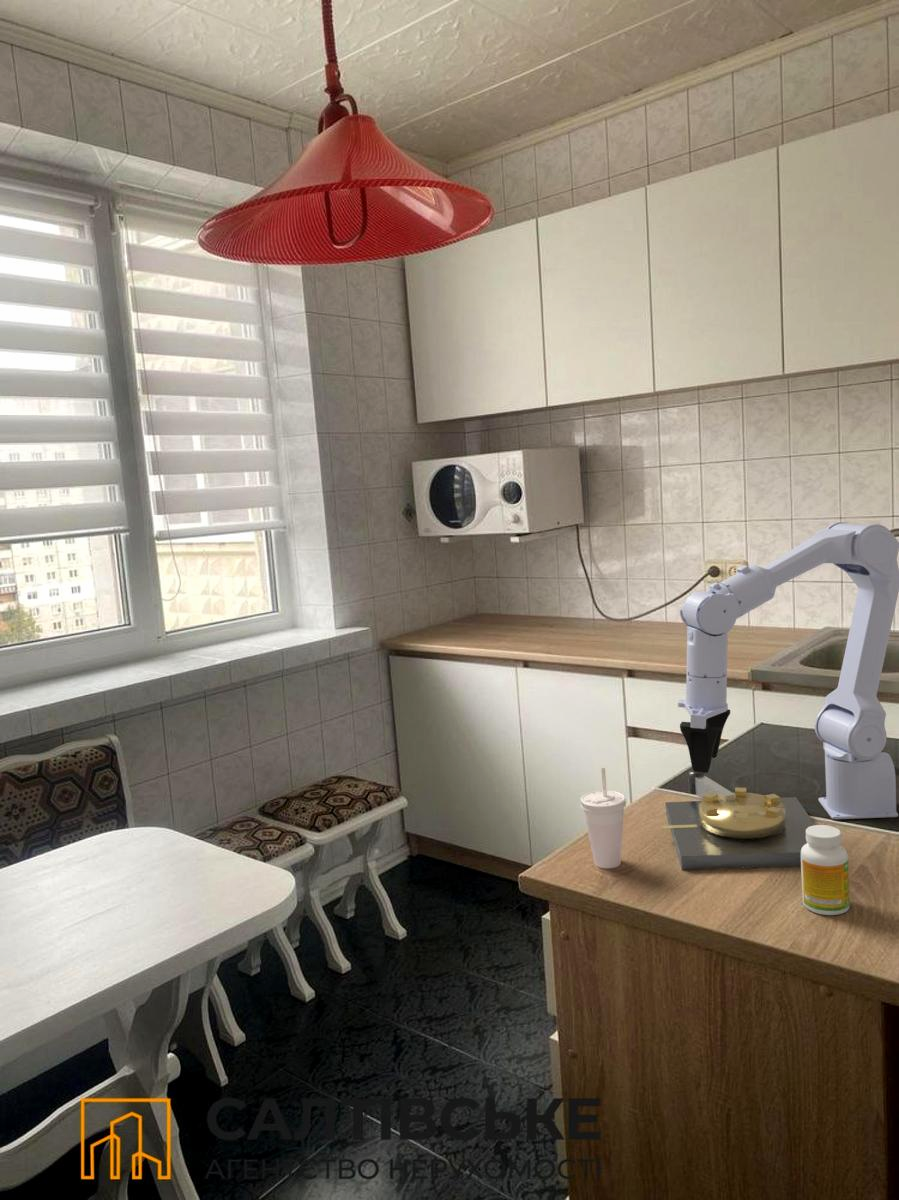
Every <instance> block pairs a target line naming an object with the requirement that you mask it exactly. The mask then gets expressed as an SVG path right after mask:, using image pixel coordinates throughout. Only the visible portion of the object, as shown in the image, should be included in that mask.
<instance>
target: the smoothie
mask: <svg viewBox="0 0 899 1200" xmlns="http://www.w3.org/2000/svg"><path fill="white" fill-rule="evenodd" d="M600 771H601V785H602V790H595V791H590V792H587V793H585V794H583V795H582V796H581V797H580V808H581V809H583V812H584V813H583V815H584V819H585V823H586V827H587V832H588V838H589V843H590V848H591V852H592V857H593V862H594V863H593V864H594V865H595V867H597V868H601V869H606V870H607V869H615V868H618V867H619V866H620V865H621V863H622V850H623V849H622V848H623V847H622V844H623V833H624V832H623V831H624V829H623V827H624V817H625V816H624V813H625V811H624V810H625V808H626V805H627V801H626V800H627V799H626V796H625V795H624V794H622V793H621V792H618V791H614V790H607V778H606V777H607V776H606V767H605V766H601V767H600Z"/></svg>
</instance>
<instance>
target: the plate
mask: <svg viewBox="0 0 899 1200" xmlns="http://www.w3.org/2000/svg"><path fill="white" fill-rule="evenodd" d="M702 801H703V800H695V801H694V800H692V801H691V800H690V801H670V802H669V801H665V816H666V818H667V822H668V824H667V825H661V827H662V830H670V833H671V836H672V841H673V844H674V847H675V850H676V853H677V858H678V861H679V865H680V867H681V870H682V871H690V870H691V871H694V870H697V869H698V870H724V869H723V868H731V869H747V868H746V867H749V868H748V869H759V868H760V867H761V868H762V867H765V868H791V866H792V867H793V866H794V867H793V868H795V867H796V866H798V867H801V849H802V847H803V846H804V845H805V844H807V841H806V829H807V828H808V827H810V826H814V825H816V824H815V823H814V821H813V820H812V818H811V817H810V815H809V814H808V813H807V811H806V810H805V808H804V806H803V805H802V803H801V802H800V801H799V800H798V798H797V797H796V796H793V797H792V796H791V797H787V796H786V797H780V801H781V803H782V804H783V805H784V807H785V821H786V825H785V827H784V828H783V829H782V830H781V831H780V832H778V833H776V834H773V835H770V836H766V837H760V838H733V837H726V836H722V835H718V834H715V833H712V832H710V831H708V830H706V829H705V828H704V827H702V825H701V824H700V817H699V804H700V803H701V802H702ZM742 867H744V868H742ZM751 867H752V868H751ZM755 867H756V868H755ZM758 867H759V868H758ZM720 868H722V869H720ZM762 869H763V868H762Z"/></svg>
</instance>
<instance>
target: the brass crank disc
mask: <svg viewBox="0 0 899 1200" xmlns="http://www.w3.org/2000/svg"><path fill="white" fill-rule="evenodd" d="M687 778H688V779H687V780H688V793H689V794H691V795H695V796H697V797H699V798H700V799H702V800H701V801H702V802H701V803H700V804H699V817H700V824H701V825H702V827H704V828H705V829H706V830H708V831H710V832H712V833H715V834H718V835H722V836H726V837H733V838H760V837H766V836H770V835H773V834H776V833H778V832H780V831H781V830H782V829H783V828H784V827H785V825H786V821H785V807H784V805H783V804H782V803H781V801H780V798H781V796H779V795H778V794H775V793H771V794H765V795H764V794H759V793H753V792H747V787H735V788H734V791H735V792H732V791H731V790H729V789H727V788H725V787H724V786H722V785H721V784H719V783H718V782H716V781H714V780H713V779H711V778H709V777H708V776H706V773H703V772H694V771H693V768H692V769H689V770H688V771H687Z"/></svg>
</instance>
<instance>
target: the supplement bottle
mask: <svg viewBox="0 0 899 1200" xmlns="http://www.w3.org/2000/svg"><path fill="white" fill-rule="evenodd" d="M806 841H807V844H805V845H804V846H803V847H802V849H801V866H800V871H801V872H800V873H801V875H800V876H801V878H800V879H801V895H802V897H801V899H802V904H803V905H804V907H805V908H806V909H807V910H808V911H810V912H812V913H814V914H815V913H816V914H818V915H823V916H836V915H842V914H845V913H846V912H848V911H849V909H850V906H851V905H850V902H851V900H850V899H851V898H850V879H849V878H850V877H849V875H850V874H849V873H850V871H849V855H848V853H849V852H847V849H845V847H844V846H842V845H841V844H842V832H841V830H840V829H839V828H837V827H834V826H831V825H826V824H815V825H814V826H810V827H808V828H807V829H806Z"/></svg>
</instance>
